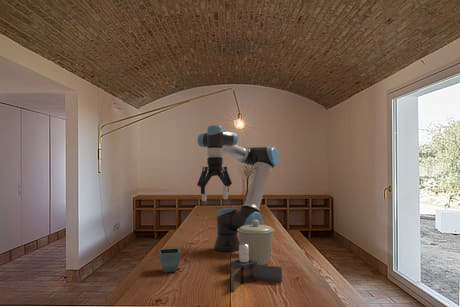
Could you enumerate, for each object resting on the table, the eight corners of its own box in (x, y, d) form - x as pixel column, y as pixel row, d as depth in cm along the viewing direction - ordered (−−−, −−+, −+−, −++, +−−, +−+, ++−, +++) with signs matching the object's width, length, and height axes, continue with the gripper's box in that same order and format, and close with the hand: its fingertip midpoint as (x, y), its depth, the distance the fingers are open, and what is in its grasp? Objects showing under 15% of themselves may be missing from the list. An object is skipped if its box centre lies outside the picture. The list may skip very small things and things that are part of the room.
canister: (277, 259, 175) (276, 217, 176) (271, 270, 158) (271, 223, 159) (242, 257, 180) (242, 216, 181) (233, 267, 163) (232, 222, 163)
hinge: (251, 272, 155) (251, 256, 155) (283, 281, 142) (282, 264, 142) (212, 283, 140) (212, 266, 140) (243, 295, 127) (243, 276, 127)
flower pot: (160, 274, 153) (160, 253, 153) (159, 268, 161) (159, 249, 161) (180, 272, 155) (180, 252, 155) (178, 267, 163) (178, 248, 164)
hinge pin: (244, 276, 149) (243, 243, 150) (251, 278, 147) (250, 244, 147) (237, 278, 147) (237, 244, 147) (244, 280, 144) (243, 246, 144)
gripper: (228, 157, 183) (228, 197, 182) (189, 156, 166) (189, 201, 165) (238, 157, 177) (238, 198, 177) (199, 156, 161) (199, 202, 160)
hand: (215, 200), depth 171 cm, fingers open, 13 cm apart
